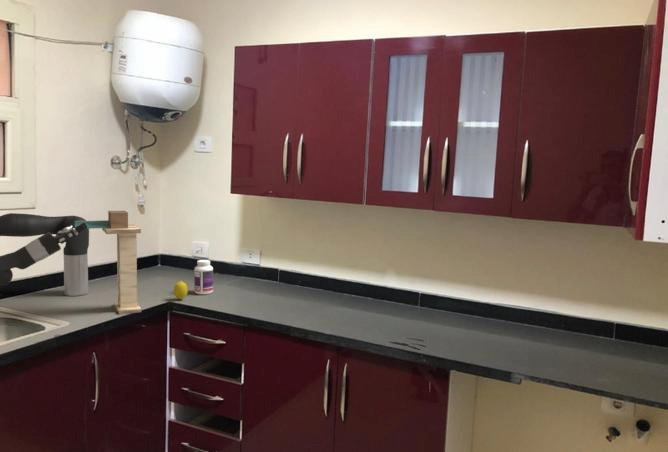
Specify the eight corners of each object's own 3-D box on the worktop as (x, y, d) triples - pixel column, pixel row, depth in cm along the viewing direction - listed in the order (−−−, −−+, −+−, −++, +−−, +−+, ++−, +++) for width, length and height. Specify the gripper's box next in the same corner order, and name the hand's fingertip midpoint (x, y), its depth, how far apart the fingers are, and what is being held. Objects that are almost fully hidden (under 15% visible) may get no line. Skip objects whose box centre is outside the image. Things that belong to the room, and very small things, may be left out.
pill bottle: (214, 291, 249) (214, 259, 247) (211, 295, 241) (211, 262, 239) (196, 290, 249) (196, 259, 247) (192, 295, 241) (192, 262, 239)
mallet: (74, 227, 208) (73, 211, 207) (124, 225, 216) (124, 210, 215) (75, 229, 201) (75, 213, 200) (128, 228, 209) (127, 212, 208)
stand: (103, 305, 219) (101, 225, 215) (135, 302, 225) (134, 224, 221) (107, 315, 206) (106, 230, 202) (141, 312, 212) (140, 229, 208)
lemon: (183, 301, 229) (183, 282, 228) (171, 300, 230) (171, 281, 229) (189, 298, 234) (189, 280, 233) (177, 297, 235) (177, 279, 234)
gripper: (48, 252, 207) (89, 229, 213) (49, 259, 195) (92, 234, 200) (36, 236, 204) (77, 213, 210) (37, 241, 192) (80, 217, 198)
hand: (85, 223), depth 205 cm, fingers open, 8 cm apart
